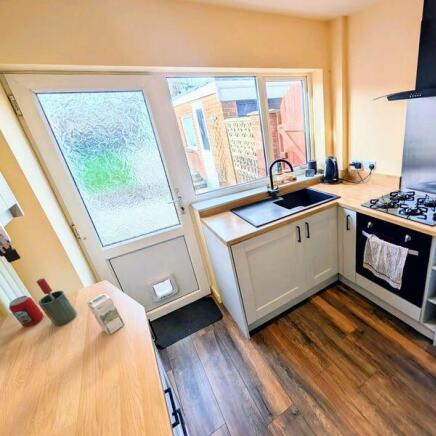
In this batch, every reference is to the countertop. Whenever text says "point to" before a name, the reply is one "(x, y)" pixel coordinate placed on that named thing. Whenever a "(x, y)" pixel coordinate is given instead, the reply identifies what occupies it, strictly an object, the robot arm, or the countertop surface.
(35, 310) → the beverage can
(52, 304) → the dark green mug
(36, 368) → the countertop surface
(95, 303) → the syrup box
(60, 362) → the countertop surface
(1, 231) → the robot arm
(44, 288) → the bottle brush
